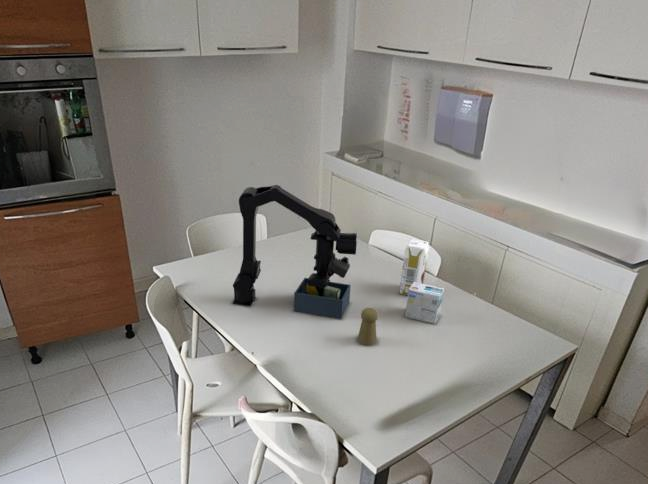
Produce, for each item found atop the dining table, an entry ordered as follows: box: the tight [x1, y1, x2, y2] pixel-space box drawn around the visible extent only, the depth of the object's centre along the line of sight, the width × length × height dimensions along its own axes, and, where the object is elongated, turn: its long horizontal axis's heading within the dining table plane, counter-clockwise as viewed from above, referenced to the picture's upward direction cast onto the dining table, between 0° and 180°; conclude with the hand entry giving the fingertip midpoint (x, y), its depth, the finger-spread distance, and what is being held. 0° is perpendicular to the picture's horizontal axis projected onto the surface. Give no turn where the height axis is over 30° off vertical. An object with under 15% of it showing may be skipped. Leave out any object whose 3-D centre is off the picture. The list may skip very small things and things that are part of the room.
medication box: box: [306, 285, 341, 300], centre depth 179 cm, size 12×3×4 cm, turn 63°
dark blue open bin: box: [293, 277, 352, 320], centre depth 181 cm, size 17×12×7 cm
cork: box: [357, 307, 379, 347], centre depth 162 cm, size 6×6×11 cm
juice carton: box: [399, 238, 430, 296], centre depth 189 cm, size 8×9×19 cm
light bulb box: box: [404, 282, 445, 325], centre depth 176 cm, size 11×7×11 cm, turn 65°
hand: (322, 293), depth 180 cm, fingers closed on medication box, 3 cm apart
